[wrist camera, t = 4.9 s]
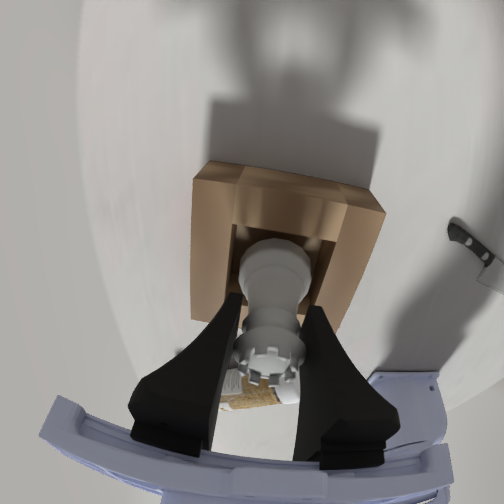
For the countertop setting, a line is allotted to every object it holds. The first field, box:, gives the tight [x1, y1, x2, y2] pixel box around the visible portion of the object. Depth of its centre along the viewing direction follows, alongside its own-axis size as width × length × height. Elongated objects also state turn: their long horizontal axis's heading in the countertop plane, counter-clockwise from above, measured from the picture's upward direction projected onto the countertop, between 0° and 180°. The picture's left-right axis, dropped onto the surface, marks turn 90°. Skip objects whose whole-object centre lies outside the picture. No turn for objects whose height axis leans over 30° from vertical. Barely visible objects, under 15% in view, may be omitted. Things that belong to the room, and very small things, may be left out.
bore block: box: [190, 161, 386, 334], centre depth 18 cm, size 10×10×4 cm
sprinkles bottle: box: [218, 368, 300, 411], centre depth 26 cm, size 5×5×14 cm
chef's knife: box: [448, 223, 504, 295], centre depth 19 cm, size 19×1×3 cm
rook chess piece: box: [232, 238, 312, 387], centre depth 14 cm, size 4×4×8 cm
